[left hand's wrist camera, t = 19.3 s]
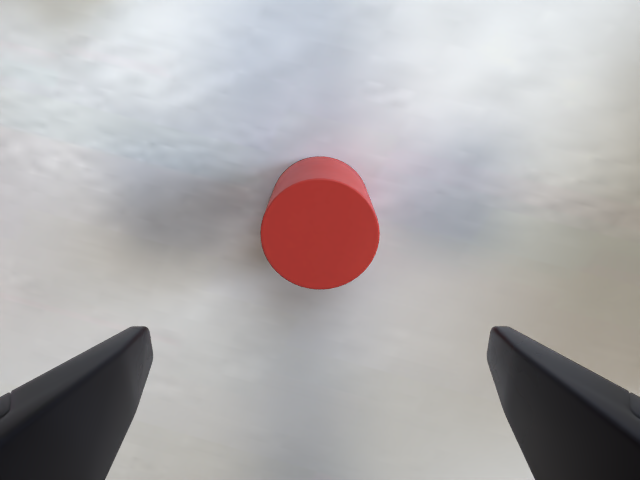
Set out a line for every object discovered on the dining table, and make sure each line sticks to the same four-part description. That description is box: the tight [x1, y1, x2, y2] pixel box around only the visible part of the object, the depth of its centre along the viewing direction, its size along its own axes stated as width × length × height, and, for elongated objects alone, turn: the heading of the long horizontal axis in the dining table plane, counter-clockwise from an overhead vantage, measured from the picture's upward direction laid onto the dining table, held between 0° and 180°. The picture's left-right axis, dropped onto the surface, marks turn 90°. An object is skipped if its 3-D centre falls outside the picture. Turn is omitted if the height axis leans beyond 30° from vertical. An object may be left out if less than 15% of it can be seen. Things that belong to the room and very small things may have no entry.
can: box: [261, 157, 380, 289], centre depth 21 cm, size 5×5×5 cm
